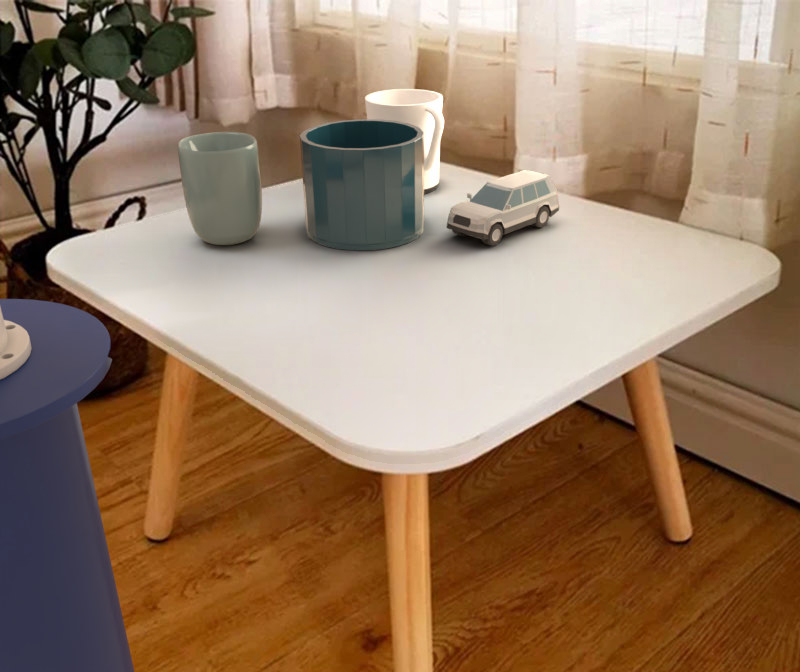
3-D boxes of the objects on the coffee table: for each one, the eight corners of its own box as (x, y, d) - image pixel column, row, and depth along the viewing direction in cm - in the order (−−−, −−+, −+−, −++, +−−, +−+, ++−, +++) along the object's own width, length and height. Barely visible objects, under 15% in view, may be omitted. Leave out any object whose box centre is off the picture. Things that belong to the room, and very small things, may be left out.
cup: (258, 223, 101) (250, 128, 96) (272, 246, 95) (264, 147, 90) (185, 231, 99) (172, 135, 94) (194, 256, 93) (181, 155, 88)
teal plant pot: (367, 259, 91) (363, 156, 86) (282, 232, 98) (274, 136, 93) (447, 227, 99) (448, 131, 94) (363, 204, 106) (360, 113, 101)
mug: (352, 185, 112) (349, 96, 107) (409, 171, 117) (408, 85, 112) (411, 206, 105) (410, 112, 100) (469, 190, 110) (471, 100, 105)
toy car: (439, 238, 96) (439, 190, 93) (520, 209, 104) (522, 164, 101) (481, 252, 92) (483, 203, 90) (562, 221, 100) (565, 175, 97)
